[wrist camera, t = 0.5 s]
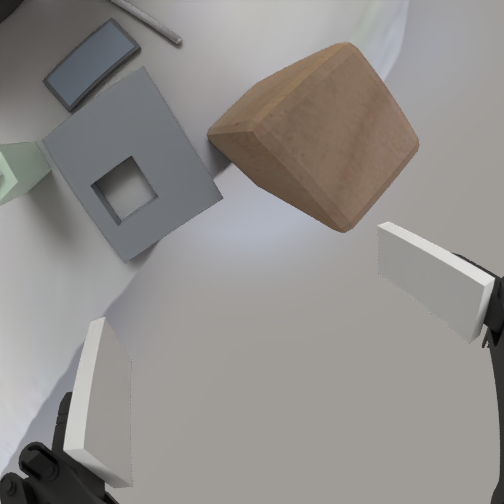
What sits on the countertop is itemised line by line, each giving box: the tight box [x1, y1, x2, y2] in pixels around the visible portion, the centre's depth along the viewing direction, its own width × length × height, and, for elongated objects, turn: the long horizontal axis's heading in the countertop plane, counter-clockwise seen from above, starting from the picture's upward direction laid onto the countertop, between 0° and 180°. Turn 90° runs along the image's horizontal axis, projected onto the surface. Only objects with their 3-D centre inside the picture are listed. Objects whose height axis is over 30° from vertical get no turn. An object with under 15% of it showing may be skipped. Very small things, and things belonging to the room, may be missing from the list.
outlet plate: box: [42, 66, 223, 263], centre depth 31 cm, size 18×14×2 cm
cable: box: [110, 0, 182, 44], centre depth 25 cm, size 13×1×1 cm, turn 49°
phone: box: [43, 18, 141, 112], centre depth 25 cm, size 6×11×1 cm, turn 129°
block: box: [207, 42, 419, 233], centre depth 26 cm, size 10×10×20 cm
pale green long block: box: [0, 142, 51, 206], centre depth 23 cm, size 4×4×10 cm
